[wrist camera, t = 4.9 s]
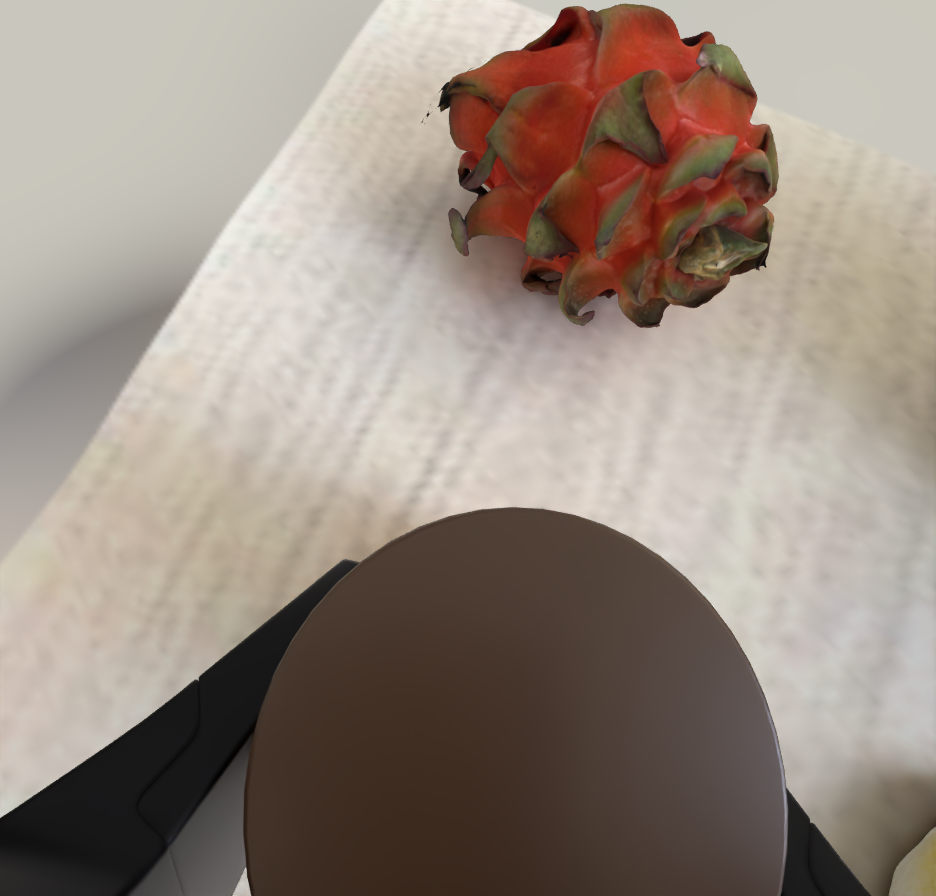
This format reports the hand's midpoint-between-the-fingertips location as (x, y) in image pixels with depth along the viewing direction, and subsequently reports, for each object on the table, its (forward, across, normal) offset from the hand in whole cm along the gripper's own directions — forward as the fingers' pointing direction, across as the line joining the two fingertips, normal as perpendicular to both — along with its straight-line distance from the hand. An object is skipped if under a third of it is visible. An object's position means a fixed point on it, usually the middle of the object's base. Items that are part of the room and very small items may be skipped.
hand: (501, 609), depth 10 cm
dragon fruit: (+14, -1, -5) cm, 15 cm away
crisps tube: (+4, 0, +6) cm, 7 cm away
